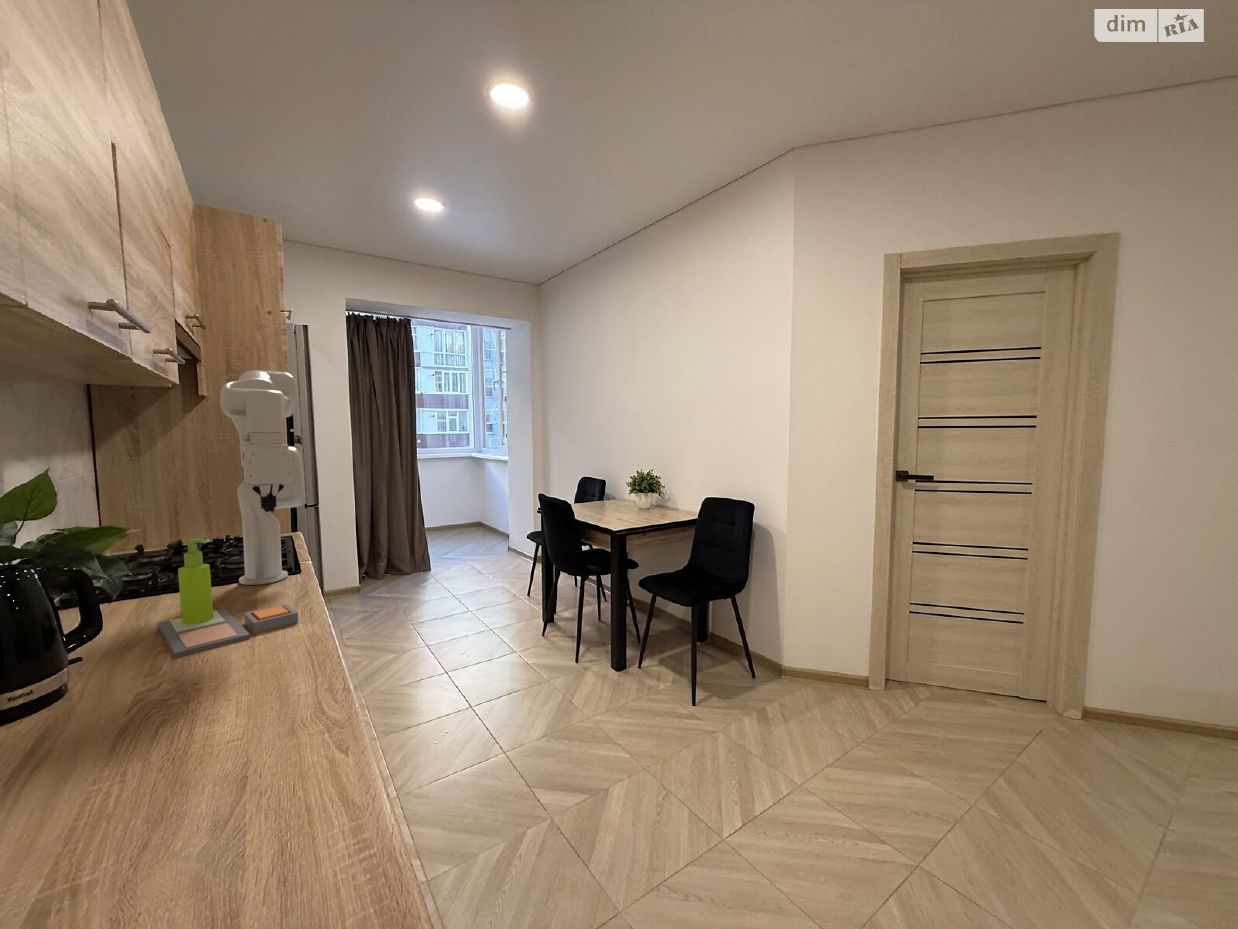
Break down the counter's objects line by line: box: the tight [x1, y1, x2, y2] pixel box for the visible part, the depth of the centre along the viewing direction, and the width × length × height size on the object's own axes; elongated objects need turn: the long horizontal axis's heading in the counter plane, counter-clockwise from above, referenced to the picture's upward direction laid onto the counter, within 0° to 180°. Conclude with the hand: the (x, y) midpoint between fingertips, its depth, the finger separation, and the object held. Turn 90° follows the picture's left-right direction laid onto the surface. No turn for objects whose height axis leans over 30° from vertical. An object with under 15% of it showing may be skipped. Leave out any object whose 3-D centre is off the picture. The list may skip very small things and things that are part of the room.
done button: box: [253, 605, 289, 621], centre depth 125 cm, size 6×6×2 cm
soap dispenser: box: [177, 537, 214, 624], centre depth 123 cm, size 6×7×20 cm
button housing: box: [243, 603, 299, 634], centre depth 125 cm, size 9×9×2 cm
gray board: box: [157, 608, 251, 658], centre depth 119 cm, size 24×13×1 cm, turn 48°
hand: (268, 510), depth 129 cm, fingers closed
